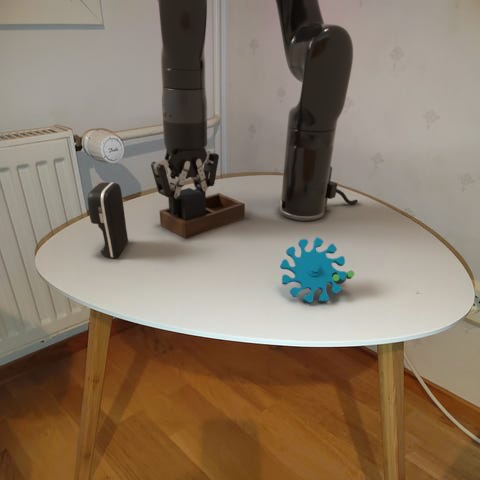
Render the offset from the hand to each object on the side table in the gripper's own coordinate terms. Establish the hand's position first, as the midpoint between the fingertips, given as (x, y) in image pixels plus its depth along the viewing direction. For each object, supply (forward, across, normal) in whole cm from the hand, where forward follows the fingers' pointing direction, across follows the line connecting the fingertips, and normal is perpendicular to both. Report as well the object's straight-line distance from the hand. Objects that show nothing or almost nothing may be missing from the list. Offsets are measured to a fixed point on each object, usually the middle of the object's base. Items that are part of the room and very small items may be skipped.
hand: (188, 212), depth 81 cm
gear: (+3, 0, -32) cm, 32 cm away
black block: (0, 0, 0) cm, 0 cm away
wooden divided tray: (+3, +4, 0) cm, 5 cm away
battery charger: (+4, -16, +1) cm, 17 cm away
